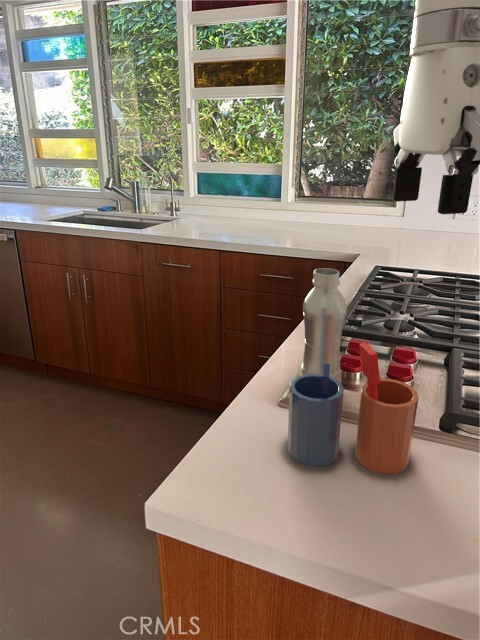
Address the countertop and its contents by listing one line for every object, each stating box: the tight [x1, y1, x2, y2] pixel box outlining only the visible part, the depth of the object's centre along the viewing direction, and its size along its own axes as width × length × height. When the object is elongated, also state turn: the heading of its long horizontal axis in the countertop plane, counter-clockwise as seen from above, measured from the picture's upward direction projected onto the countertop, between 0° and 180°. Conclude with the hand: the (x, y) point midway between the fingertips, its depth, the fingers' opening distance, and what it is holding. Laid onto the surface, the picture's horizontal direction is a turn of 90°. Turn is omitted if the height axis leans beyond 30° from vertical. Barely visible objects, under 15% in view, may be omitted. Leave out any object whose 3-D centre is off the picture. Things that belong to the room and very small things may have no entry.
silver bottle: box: [298, 267, 348, 384], centre depth 70 cm, size 6×7×20 cm
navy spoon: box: [321, 364, 330, 398], centre depth 57 cm, size 1×2×13 cm, turn 168°
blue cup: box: [287, 374, 344, 468], centre depth 58 cm, size 6×6×10 cm
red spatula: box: [358, 341, 381, 401], centre depth 55 cm, size 1×3×16 cm, turn 10°
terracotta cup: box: [354, 378, 420, 475], centre depth 57 cm, size 6×6×10 cm
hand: (426, 206), depth 54 cm, fingers open, 9 cm apart
